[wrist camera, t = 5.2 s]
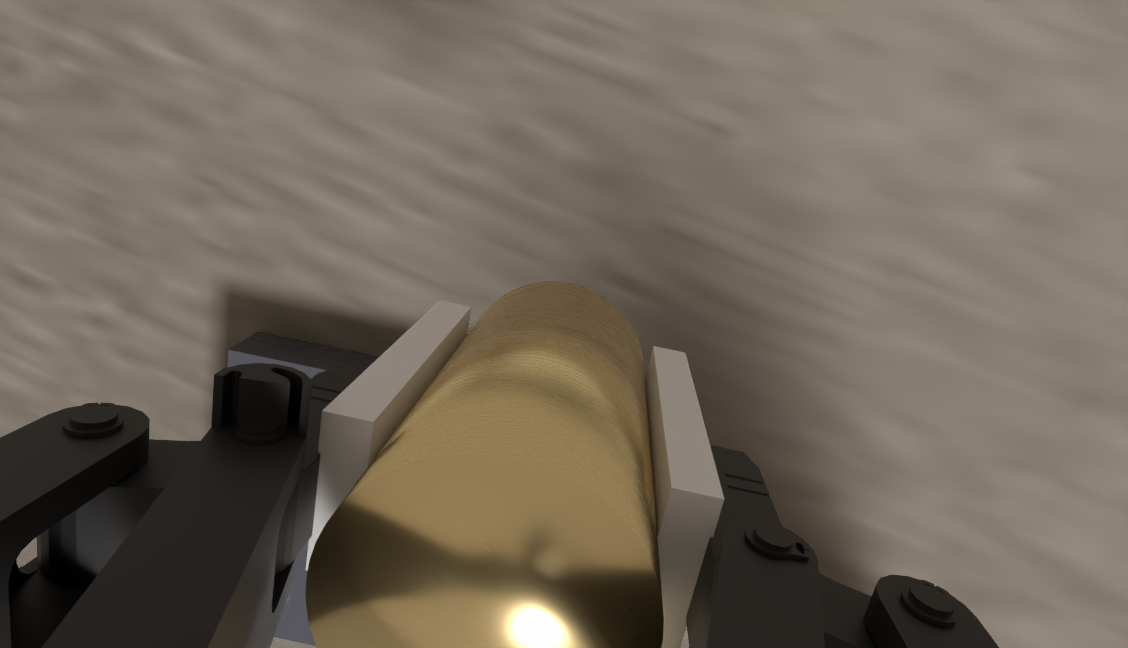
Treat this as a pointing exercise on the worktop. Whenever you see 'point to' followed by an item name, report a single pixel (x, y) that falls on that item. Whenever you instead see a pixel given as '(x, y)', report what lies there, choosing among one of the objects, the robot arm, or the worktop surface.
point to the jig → (311, 363)
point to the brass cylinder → (506, 496)
